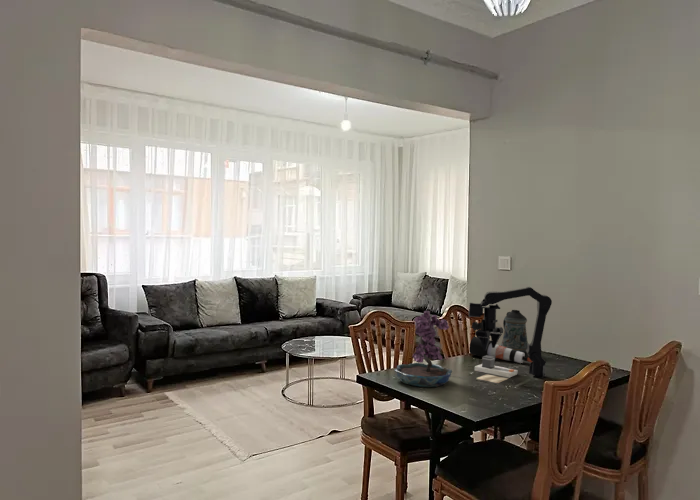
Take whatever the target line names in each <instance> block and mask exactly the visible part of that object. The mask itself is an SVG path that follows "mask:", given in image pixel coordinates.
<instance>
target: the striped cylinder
mask: <svg viewBox="0 0 700 500" xmlns="http://www.w3.org/2000/svg"><path fill="white" fill-rule="evenodd" d="M469 354H471V355H474V356H477V357H481V358H482V357H483V356H486V355H488V356H493V357H495V359H498V360H503V361H509V362H512V363H513V362H514V363H518V364H521V363H522V364H523V363H524V362H527V363H528V362H529V363H531V362H532V361H531V360H530V358H529V357H528V356H526V357H525V353H523V352H519V351H516V350H513V349H509V348H507V347H503V346H501V345H499V344H496V346H495V348H492V341H491V339H490V340H489V343H488V346H487V349H486V351H484V350H483V347H482V343H481V340H480V339H479V338H478V337H477V336H473V337H472V338H471V339H470V344H469Z"/></svg>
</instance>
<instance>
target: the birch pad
mask: <svg viewBox="0 0 700 500" xmlns="http://www.w3.org/2000/svg"><path fill="white" fill-rule="evenodd" d="M475 378H476V379H475V381H476V382H481V383H483V381H484V383H485V384H490V385H495V386H497V384H500V383H501V382H504V381H507V380H509V378H508V377H503V376H498V375H493V374H488V373H485V374H484V375H481V376H478V377H475Z"/></svg>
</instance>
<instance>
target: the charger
mask: <svg viewBox="0 0 700 500" xmlns="http://www.w3.org/2000/svg"><path fill="white" fill-rule="evenodd" d="M481 359H482V360H481V364H482V367H484V368H489V369H492V368H494V366H496V365H495V360H496V358H495V357H493V356H488V355H486V356H483V357H481Z"/></svg>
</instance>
